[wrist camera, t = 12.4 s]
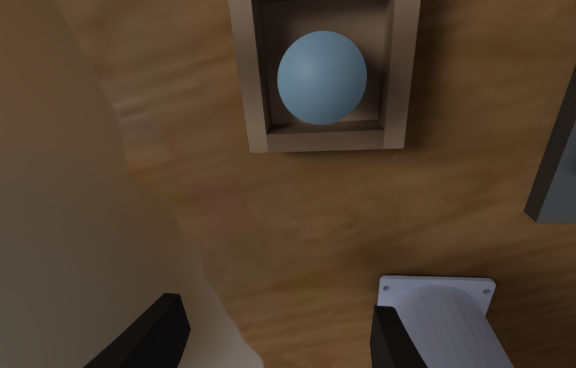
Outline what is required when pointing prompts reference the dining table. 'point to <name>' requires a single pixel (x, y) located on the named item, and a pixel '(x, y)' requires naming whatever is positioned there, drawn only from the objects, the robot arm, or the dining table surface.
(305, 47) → the blue rounded cylinder
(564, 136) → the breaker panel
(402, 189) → the dining table surface
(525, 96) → the dining table surface
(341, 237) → the dining table surface
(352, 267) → the dining table surface
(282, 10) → the stylus holder
